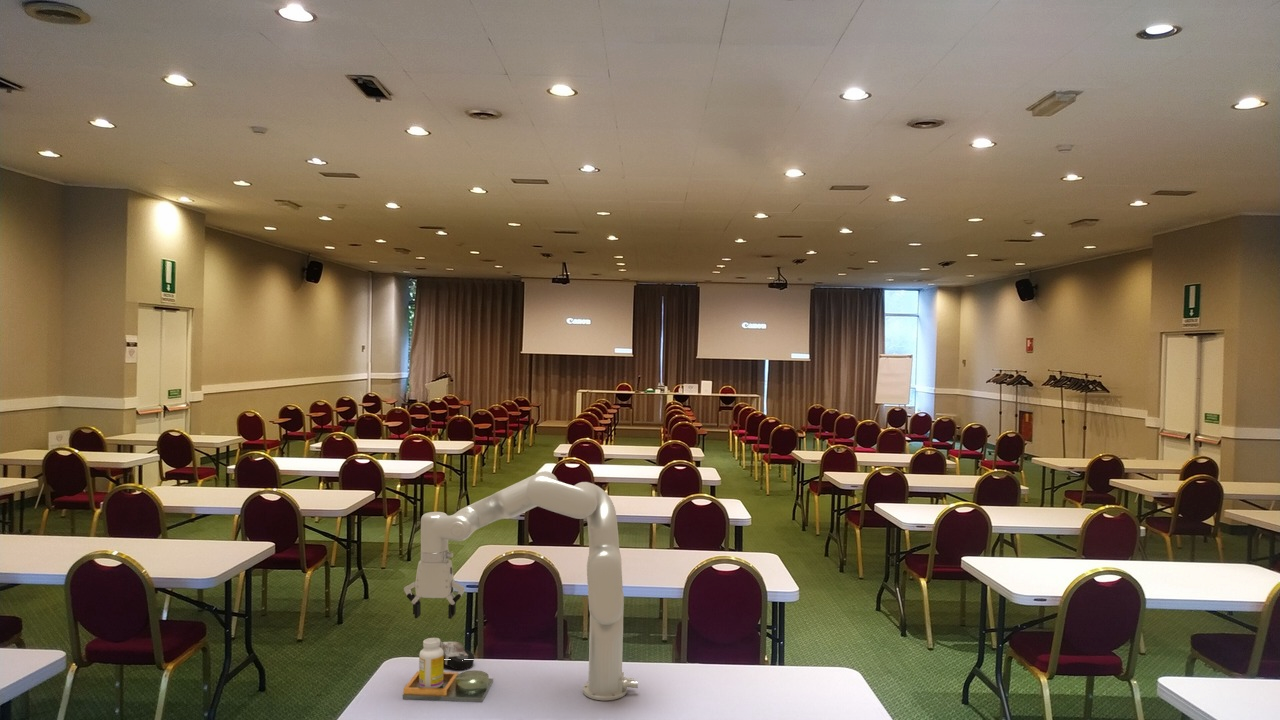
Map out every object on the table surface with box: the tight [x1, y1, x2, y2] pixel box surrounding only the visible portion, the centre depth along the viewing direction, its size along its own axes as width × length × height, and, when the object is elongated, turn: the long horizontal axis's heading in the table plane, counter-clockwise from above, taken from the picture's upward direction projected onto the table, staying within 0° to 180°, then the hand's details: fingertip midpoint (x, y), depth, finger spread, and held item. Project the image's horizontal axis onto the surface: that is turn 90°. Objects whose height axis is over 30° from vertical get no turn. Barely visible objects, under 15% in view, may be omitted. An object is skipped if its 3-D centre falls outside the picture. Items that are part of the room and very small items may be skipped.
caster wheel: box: [439, 640, 475, 671], centre depth 236 cm, size 7×11×10 cm
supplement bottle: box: [418, 637, 445, 688], centre depth 218 cm, size 7×7×13 cm
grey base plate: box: [402, 669, 494, 703], centre depth 218 cm, size 22×13×4 cm, turn 88°
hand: (434, 617), depth 218 cm, fingers open, 9 cm apart
